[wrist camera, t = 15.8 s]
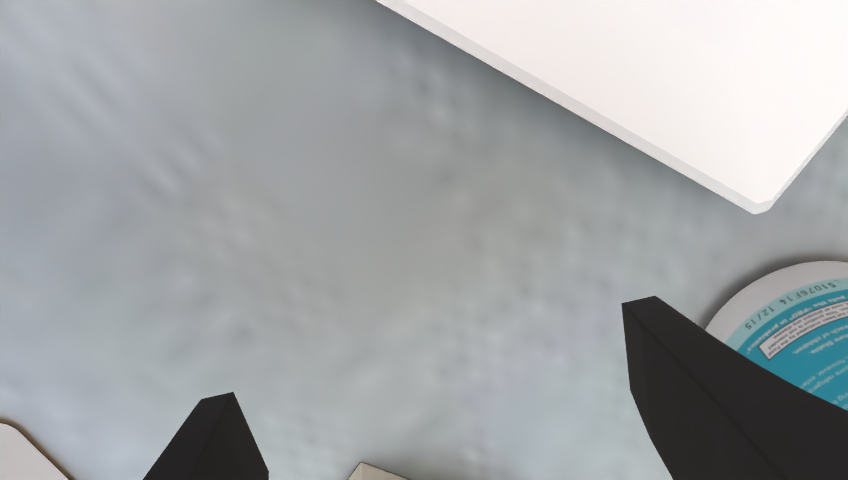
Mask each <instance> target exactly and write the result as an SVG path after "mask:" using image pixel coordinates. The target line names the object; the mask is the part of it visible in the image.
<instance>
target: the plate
mask: <svg viewBox="0 0 848 480" xmlns="http://www.w3.org/2000/svg"><path fill="white" fill-rule="evenodd" d="M375 1H377V2H379V3H381V4H382V5H384V6H386V7H388V8H390V9H391V10H393V11H395V12H397V13H398V14H400V15H402V16H404V17H405V18H407V19H409V20H411V21H412V22H414V23H416V24H418V25H420V26H421V27H423V28H425V29H427V30H428V31H430V32H432V33H434V34H435V35H437V36H439V37H441V38H443V39H444V40H446V41H448V42H450V43H451V44H453V45H455V46H457V47H458V48H460V49H462V50H464V51H466V52H467V53H469V54H471V55H473V56H474V57H476V58H478V59H480V60H481V61H483V62H485V63H487V64H489V65H490V66H492V67H494V68H496V69H497V70H499V71H501V72H503V73H504V74H506V75H508V76H510V77H512V78H513V79H515V80H517V81H519V82H520V83H522V84H524V85H526V86H527V87H529V88H531V89H533V90H535V91H536V92H538V93H540V94H542V95H543V96H545V97H547V98H549V99H550V100H552V101H554V102H556V103H558V104H559V105H561V106H563V107H565V108H566V109H568V110H570V111H572V112H573V113H575V114H577V115H579V116H581V117H582V118H584V119H586V120H588V121H589V122H591V123H593V124H595V125H596V126H598V127H600V128H602V129H604V130H605V131H607V132H609V133H611V134H612V135H614V136H616V137H618V138H619V139H621V140H623V141H625V142H627V143H628V144H630V145H632V146H634V147H635V148H637V149H639V150H641V151H642V152H644V153H646V154H648V155H650V156H651V157H653V158H655V159H657V160H658V161H660V162H662V163H664V164H665V165H667V166H669V167H671V168H673V169H674V170H676V171H678V172H680V173H681V174H683V175H685V176H687V177H688V178H690V179H692V180H694V181H696V182H697V183H699V184H701V185H703V186H704V187H706V188H708V189H710V190H711V191H713V192H715V193H717V194H718V195H720V196H722V197H724V198H726V199H727V200H729V201H731V202H733V203H734V204H736V205H738V206H740V207H741V208H743V209H745V210H747V211H749V212H750V213H752V214H758V213H762V212H766V211H768V210H769V209H770V208H771V206H772V205H773V204H774V203H775V202H776V200H777V199H778V198H779V197H780V196H781V194H782V193H783V192H784V191H785V190H786V188H787V187H788V186H789V185H790V184H791V182H792V181H793V180H794V179H795V178H796V176H797V175H798V174H799V173H800V172H801V170H802V169H803V168H804V167H805V166H806V164H807V163H808V162H809V161H810V160H811V159H812V157H813V156H814V155H815V154H816V153H817V151H818V150H819V149H820V148H821V147H822V145H823V144H824V143H825V142H826V141H827V139H828V138H829V137H830V136H831V135H832V133H833V132H834V131H835V130H836V129H837V127H838V126H839V125H840V124H841V123H842V121H843V120H844V119H845V118H846V117H847V115H848V0H375Z"/></svg>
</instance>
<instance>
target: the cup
mask: <svg viewBox="0 0 848 480" xmlns="http://www.w3.org/2000/svg"><path fill="white" fill-rule="evenodd" d="M0 480H68V479H67V478H66V477H65V476H64V475H63V474H62V473H61V472H60V471H59V470H58V469H57V468H56V467H55V466H54V465H53V464H52V463H51V462H50V461H49V460H48V459H47V458H46V457H45V456H44V455H43V454H41V453H40V452H39V451H38V450H37V449H36V448H35V447H34V446H33V445H32V444H31V443H30V442H29V441H28V440H27V439H26V438H25V437H24V436H23V435H22V434H21V433H20V432H19V431H18V430H17V429H15V428H13V427H11V426H9V425H6V424H1V423H0Z"/></svg>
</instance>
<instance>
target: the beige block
mask: <svg viewBox="0 0 848 480" xmlns="http://www.w3.org/2000/svg"><path fill="white" fill-rule="evenodd" d="M348 480H408V479H405V478H402V477H400V476H397V475H394V474H391V473H389V472H386V471H383V470H381V469H378V468H375V467H373V466H370V465H367V464H364V463H362V462H361V463H360V464H359V465H358V467H357V468H356V469H355V471H354V472H353V473H352V475H351V476H350V478H349V479H348Z"/></svg>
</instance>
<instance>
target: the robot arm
mask: <svg viewBox="0 0 848 480" xmlns="http://www.w3.org/2000/svg"><path fill="white" fill-rule="evenodd" d="M622 312H623V322H624V332H625V342H626V352H627V362H628V372H629V381H630V390H631V393H632V395H633V398H634V400H635V403H636V405H637V408H638V410H639V413H640V415H641V418H642V420H643V422H644V425H645V427H646V429H647V432H648V434H649V436H650V439H651V440H652V442H653V444H654V446H655V448H656V450H657V451H658V453H659V455H660V457H661V458H662V460H663V462H664V464H665V466H666V467H667V469H668V471H669V473H670V474H671V476H672V478H673V480H848V411H847V410H845V409H843V408H841V407H839V406H837V405H835V404H832V403H830V402H828V401H826V400H824V399H822V398H820V397H817V396H815V395H813V394H811V393H809V392H807V391H805V390H803V389H801V388H799V387H797V386H795V385H793V384H792V383H790V382H788V381H786V380H784V379H783V378H781V377H779V376H777V375H775V374H774V373H772V372H770V371H768V370H766V369H765V368H763V367H761V366H759V365H758V364H756V363H755V362H753V361H751V360H750V359H748V358H746V357H745V356H743V355H742V354H740V353H739V352H737V351H735V350H734V349H732V348H731V347H729V346H728V345H726V344H724V343H723V342H721V341H720V340H718V339H717V338H715V337H714V336H712V335H711V334H709V333H708V332H706V331H705V330H704V329H702V328H701V327H699V326H698V325H696V324H695V323H693V322H692V321H691V320H689V319H688V318H686V317H685V316H684V315H682V314H681V313H679V312H678V311H676V310H675V309H674V308H672V307H671V306H669V305H668V304H667V303H665V302H664V301H662V300H661V299H659V298H658V297H656V296H652V297H647V298H643V299H639V300H634V301H630V302H625V303H622ZM143 480H269V471H268V469H267V467H266V464H265V462H264V460H263V458H262V455H261V453H260V451H259V449H258V446H257V444H256V442H255V440H254V437H253V435H252V433H251V431H250V428H249V426H248V424H247V422H246V419H245V417H244V415H243V413H242V410H241V408H240V406H239V404H238V401H237V399H236V397H235V395H234V392H231V393H227V394H222V395H218V396H213V397H209V398H205V399H201V400H200V401H199V403H198V404H197V405H196V407H195V408H194V409H193V411H192V412H191V413H190V415H189V416H188V418H187V419H186V420H185V422H184V423H183V425H182V426H181V427H180V429H179V430H178V432H177V433H176V434H175V436H174V437H173V439H172V440H171V442H170V443H169V444H168V446H167V447H166V449H165V450H164V451H163V453H162V454H161V455H160V457H159V458H158V459H157V461H156V462H155V464H154V465H153V466H152V468H151V469H150V470H149V472H148V473H147V474H146V476H145V477H144V479H143Z"/></svg>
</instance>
